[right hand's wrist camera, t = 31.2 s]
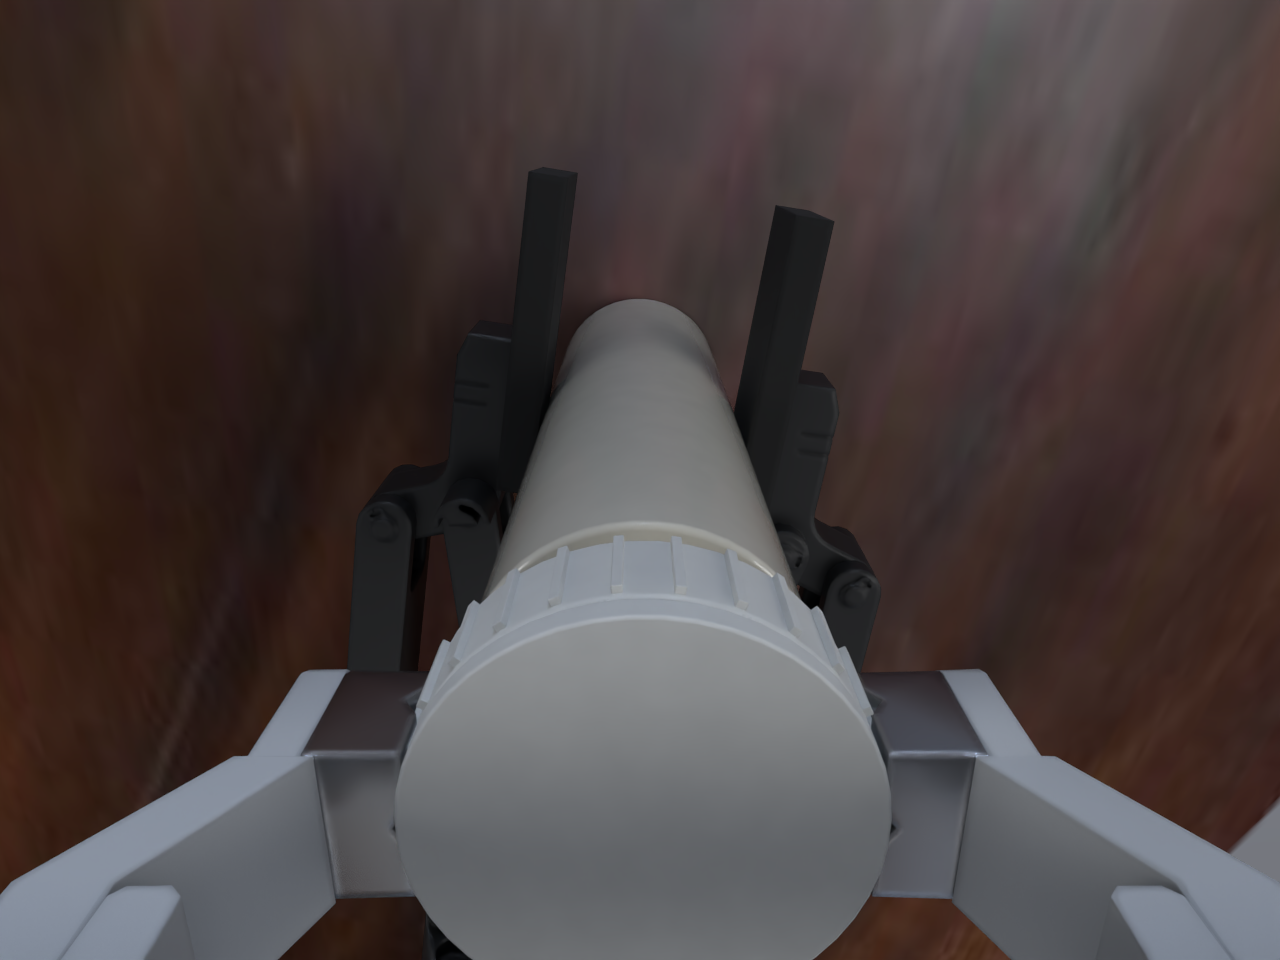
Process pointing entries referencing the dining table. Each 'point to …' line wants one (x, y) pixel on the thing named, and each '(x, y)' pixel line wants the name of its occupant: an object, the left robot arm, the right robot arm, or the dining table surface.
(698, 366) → the jar
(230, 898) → the right robot arm
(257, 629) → the dining table surface
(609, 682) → the lid
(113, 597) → the dining table surface
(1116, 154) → the dining table surface
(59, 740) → the dining table surface
